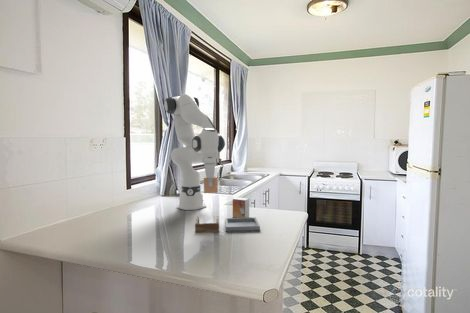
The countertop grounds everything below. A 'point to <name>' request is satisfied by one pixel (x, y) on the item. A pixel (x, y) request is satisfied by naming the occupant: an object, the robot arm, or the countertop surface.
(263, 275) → the countertop surface
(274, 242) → the countertop surface
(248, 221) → the grey tray
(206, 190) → the tan wooden block
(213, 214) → the countertop surface
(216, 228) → the walnut bay
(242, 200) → the small box
